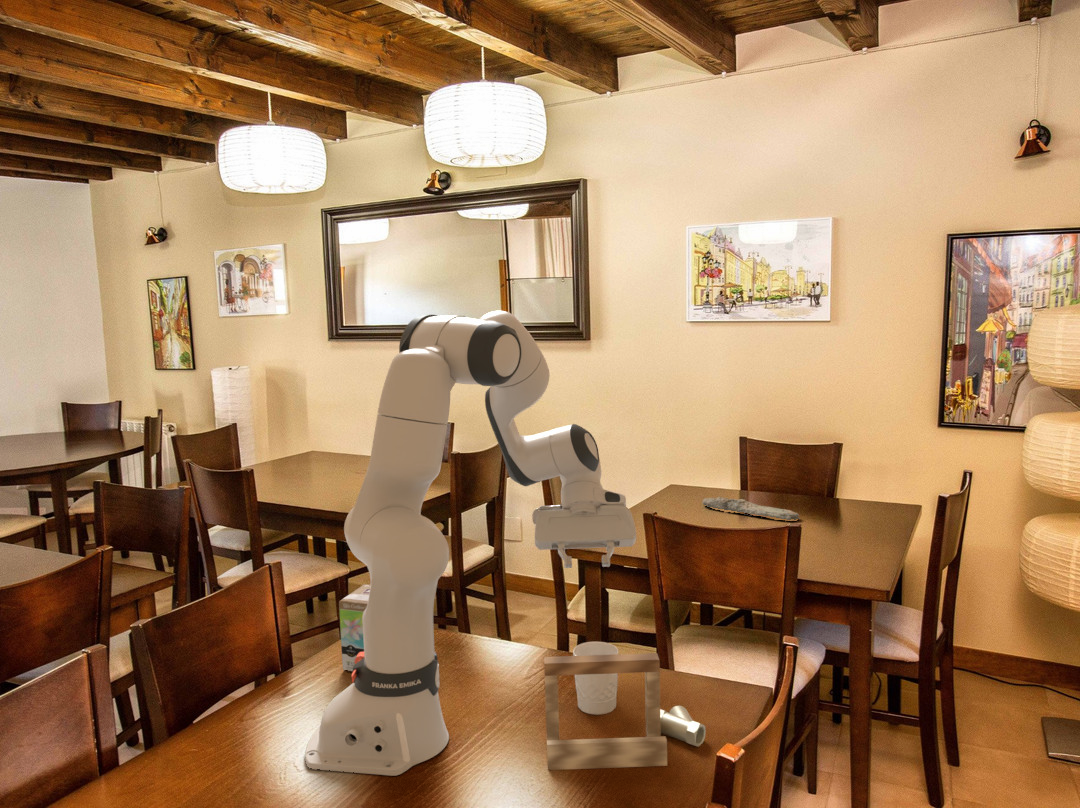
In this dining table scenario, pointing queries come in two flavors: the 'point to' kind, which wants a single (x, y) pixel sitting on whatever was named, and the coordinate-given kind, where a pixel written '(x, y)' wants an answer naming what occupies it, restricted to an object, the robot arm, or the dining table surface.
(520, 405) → the robot arm
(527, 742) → the dining table surface
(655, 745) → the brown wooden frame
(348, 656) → the tea box
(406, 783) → the dining table surface
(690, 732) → the pipe fitting
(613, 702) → the white cup
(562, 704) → the dining table surface
